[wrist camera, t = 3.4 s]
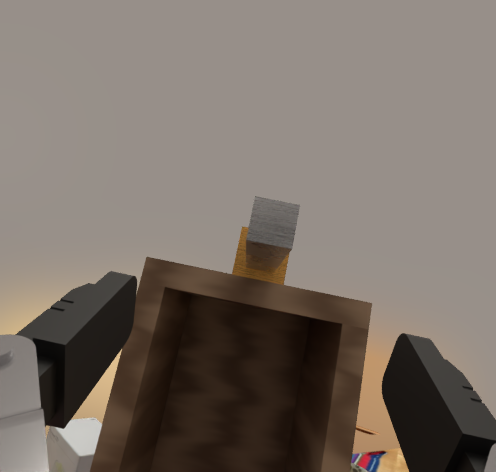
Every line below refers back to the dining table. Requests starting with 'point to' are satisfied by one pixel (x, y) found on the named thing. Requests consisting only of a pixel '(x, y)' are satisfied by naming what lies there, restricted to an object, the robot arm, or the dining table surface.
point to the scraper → (267, 241)
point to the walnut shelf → (234, 377)
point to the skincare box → (73, 445)
